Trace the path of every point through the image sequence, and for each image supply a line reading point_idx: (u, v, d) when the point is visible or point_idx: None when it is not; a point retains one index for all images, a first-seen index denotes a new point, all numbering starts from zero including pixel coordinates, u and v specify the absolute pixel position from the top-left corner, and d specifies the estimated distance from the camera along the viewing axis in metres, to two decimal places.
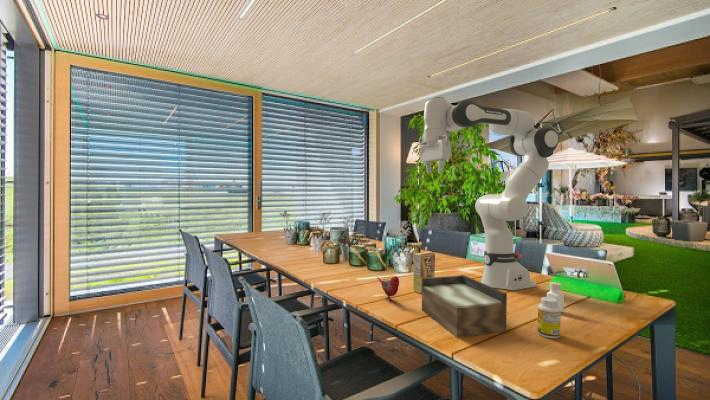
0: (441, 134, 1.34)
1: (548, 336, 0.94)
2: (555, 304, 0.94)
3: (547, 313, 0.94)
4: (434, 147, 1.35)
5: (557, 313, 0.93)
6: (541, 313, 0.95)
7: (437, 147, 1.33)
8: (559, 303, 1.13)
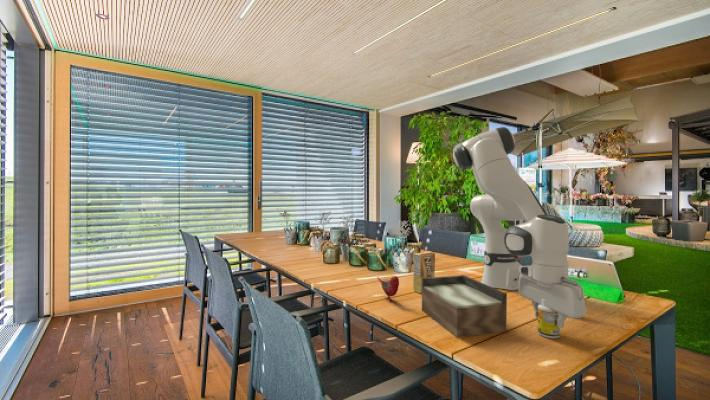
0: (564, 274, 0.92)
1: (548, 336, 0.94)
2: None
3: (547, 313, 0.94)
4: (552, 291, 0.93)
5: (557, 312, 0.93)
6: (541, 313, 0.95)
7: (560, 295, 0.91)
8: None
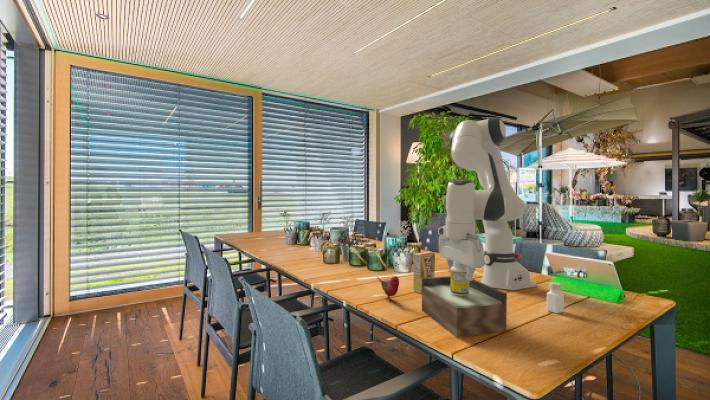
0: (470, 230, 1.01)
1: (457, 294, 1.04)
2: (464, 265, 1.04)
3: (456, 273, 1.04)
4: (460, 246, 1.02)
5: (465, 272, 1.03)
6: (451, 274, 1.05)
7: (465, 249, 1.00)
8: (559, 303, 1.13)
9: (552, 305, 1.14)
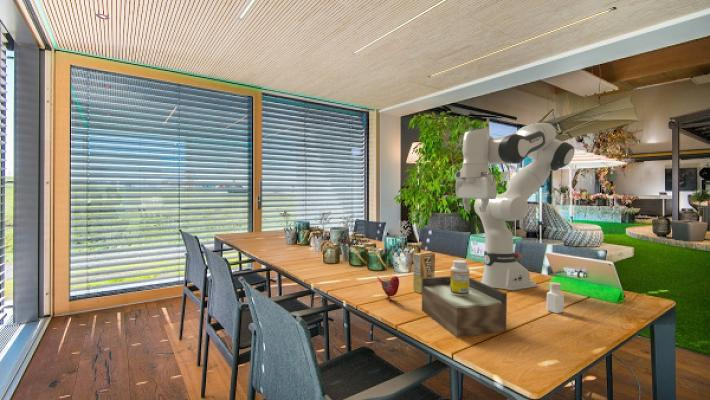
0: (484, 170, 1.19)
1: (457, 294, 1.04)
2: (464, 265, 1.04)
3: (456, 273, 1.04)
4: (475, 184, 1.20)
5: (465, 272, 1.03)
6: (451, 274, 1.05)
7: (480, 185, 1.18)
8: (559, 303, 1.13)
9: (552, 305, 1.14)
